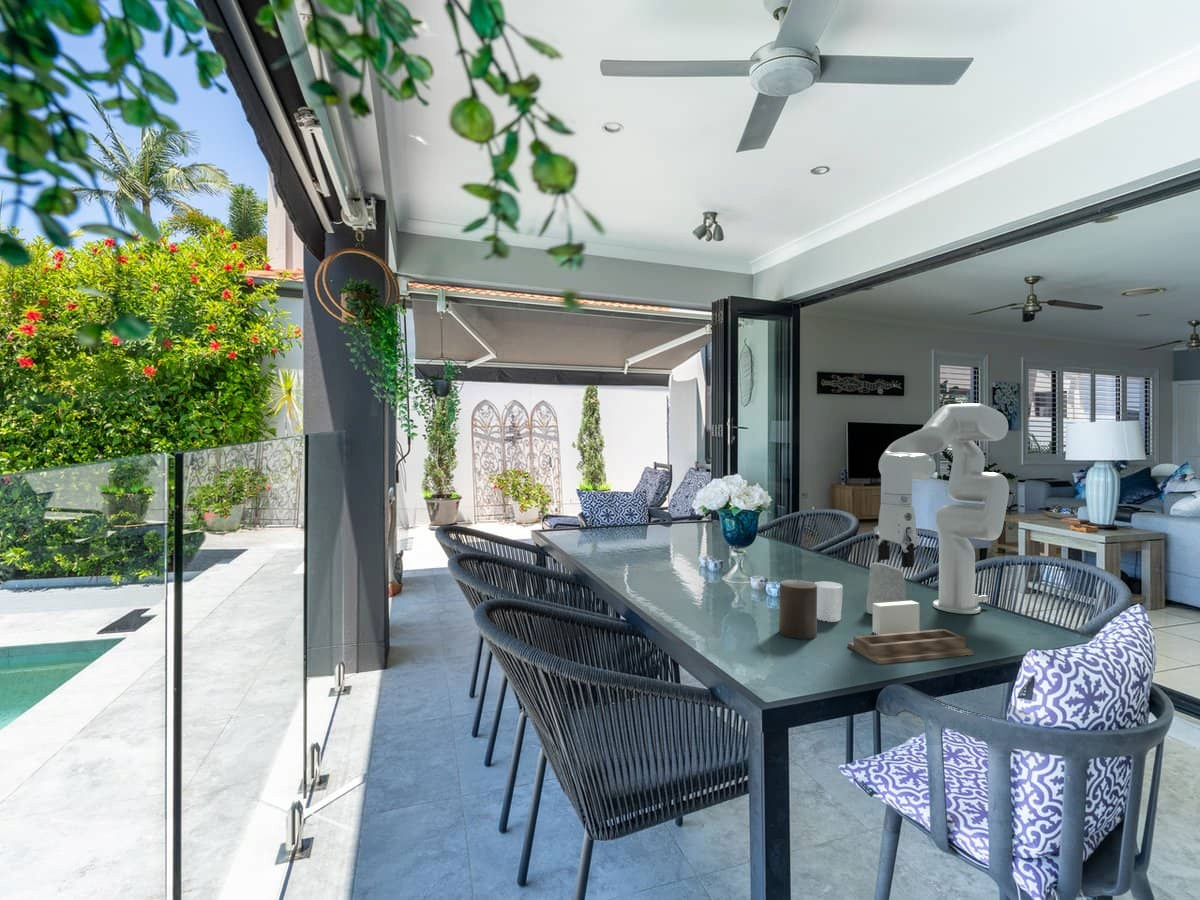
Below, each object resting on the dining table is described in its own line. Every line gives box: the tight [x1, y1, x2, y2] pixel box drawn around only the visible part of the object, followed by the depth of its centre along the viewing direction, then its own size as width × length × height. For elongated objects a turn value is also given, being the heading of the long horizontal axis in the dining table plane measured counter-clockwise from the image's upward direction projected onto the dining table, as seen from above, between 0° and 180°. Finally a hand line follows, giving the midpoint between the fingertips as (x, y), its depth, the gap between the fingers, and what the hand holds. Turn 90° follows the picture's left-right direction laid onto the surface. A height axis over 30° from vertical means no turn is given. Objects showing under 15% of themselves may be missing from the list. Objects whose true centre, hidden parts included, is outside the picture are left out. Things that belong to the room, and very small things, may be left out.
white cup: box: [814, 580, 844, 623], centre depth 180 cm, size 8×8×10 cm
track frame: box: [847, 628, 974, 665], centre depth 154 cm, size 26×12×3 cm, turn 101°
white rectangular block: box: [872, 600, 920, 635], centre depth 168 cm, size 12×3×8 cm, turn 101°
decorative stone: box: [866, 562, 907, 615], centre depth 184 cm, size 11×6×15 cm, turn 71°
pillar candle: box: [778, 579, 818, 640], centre depth 168 cm, size 10×10×15 cm
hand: (895, 563), depth 168 cm, fingers open, 9 cm apart
